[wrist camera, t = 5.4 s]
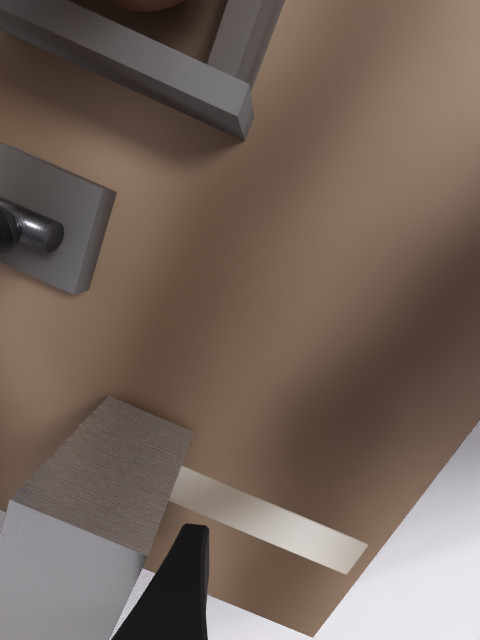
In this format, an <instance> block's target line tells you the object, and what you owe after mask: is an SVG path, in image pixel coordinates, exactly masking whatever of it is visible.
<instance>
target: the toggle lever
mask: <svg viewBox="0 0 480 640" xmlns="http://www.w3.org/2000/svg"><path fill="white" fill-rule="evenodd" d="M63 237H64V227H63V225H62V224H61V223H60V222H57V221H55V220H53V219H51V218H48V217H46V216H44V215H41V214H39V213H37V212H35V211H32V210H30V209H28V208H26V207H23V206H21V205H19V204H16V203H14V202H12V201H10V200H7V199H5V198H3V197H1V196H0V256H2V255H4V254H7V253H9V252H10V251H12V250H13V249H14V248H15V247H16V246H17V244H18V242H19V240H20V241H22V242H24V243H27V244H29V245H31V246H34V247H36V248H38V249H40V250H43V251H45V252H47V253H51V252H54V251H55V250H56V249H57V248H58V247H59V246H60V245H61V243H62V241H63Z"/></svg>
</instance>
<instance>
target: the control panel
mask: <svg viewBox="0 0 480 640" xmlns="http://www.w3.org/2000/svg"><path fill="white" fill-rule="evenodd" d="M0 196H1V197H3V198H5V199H7V200H10V201H12V202H14V203H16V204H19V205H21V206H23V207H26V208H28V209H30V210H32V211H35V212H37V213H39V214H41V215H44V216H46V217H48V218H51V219H53V220H55V221H57V222H60V223H61V224H62V225H63V227H64V237H63V241H62V243H61V245H60V246H59V247H58V248H57V249H56V250H55V251H54V252H51V253H47V252H45V251H43V250H40V249H38V248H36V247H34V246H31V245H29V244H27V243H24V242H22V241H20V240H19V242H18V244H17V246H16V247H15V248H14V249H13V250H12V251H10V252H9V253H7V254H4V255H2V256H0V510H2V511H5V512H6V511H7V508H8V504H9V500H10V499H11V498H12V497H13V496H14V495H15V493H16V492H17V491H18V490H19V489H20V488H21V487H22V486H23V485H24V484H25V483H26V482H27V481H28V480H29V479H30V478H31V477H32V476H33V475H34V474H35V472H36V471H37V470H38V469H39V468H40V467H41V466H42V465H43V464H44V463H45V462H46V461H47V460H48V459H49V458H50V457H51V456H52V455H53V454H54V453H55V452H56V450H57V449H58V448H59V447H60V446H61V445H62V444H63V443H64V442H65V441H66V440H67V439H68V438H69V437H70V436H71V435H72V434H73V433H74V432H75V431H76V430H77V428H78V427H79V426H80V425H81V424H82V423H83V422H84V421H85V420H86V419H87V418H88V417H89V416H90V415H91V414H92V413H93V412H94V411H95V410H96V409H97V408H98V406H99V405H100V404H101V403H102V402H103V401H104V400H105V399H106V398H107V397H108V396H111V397H113V398H115V399H118V400H120V401H122V402H125V403H127V404H130V405H132V406H134V407H137V408H139V409H141V410H144V411H146V412H148V413H151V414H153V415H155V416H158V417H160V418H162V419H165V420H167V421H170V422H172V423H174V424H177V425H179V426H181V427H184V428H186V429H188V430H191V431H193V432H194V434H193V436H192V439H191V442H190V444H189V447H188V450H187V452H186V455H185V458H184V460H183V463H182V466H181V468H180V471H179V474H178V477H177V479H176V482H175V485H174V487H173V490H172V493H171V495H170V498H169V501H168V503H167V506H166V509H165V512H164V514H163V517H162V520H161V522H160V525H159V528H158V530H157V533H156V536H155V538H154V541H153V544H152V546H151V549H150V552H149V555H148V557H147V559H146V561H145V563H144V566H143V568H144V569H146V570H149V571H151V572H154V573H156V572H157V571H158V569H159V568H160V566H161V564H162V562H163V561H164V559H165V557H166V556H167V554H168V552H169V550H170V549H171V547H172V545H173V543H174V541H175V539H176V538H177V536H178V534H179V532H180V530H181V528H182V526H183V525H184V524H186V523H189V524H199V525H206V526H207V527H208V528H209V581H208V589H207V595H210V596H212V597H215V598H217V599H220V600H222V601H225V602H227V603H229V604H232V605H234V606H237V607H239V608H242V609H244V610H247V611H249V612H251V613H254V614H256V615H259V616H261V617H264V618H266V619H269V620H271V621H273V622H276V623H278V624H281V625H283V626H286V627H288V628H290V629H293V630H295V631H298V632H300V633H303V634H305V635H308V636H310V637H312V638H313V637H314V635H315V634H316V633H317V632H318V630H319V629H320V628H321V626H322V625H323V624H324V622H325V621H326V620H327V618H328V617H329V616H330V615H331V613H332V612H333V611H334V609H335V608H336V607H337V605H338V604H339V603H340V602H341V600H342V599H343V598H344V596H345V595H346V594H347V592H348V591H349V590H350V588H351V587H352V586H353V585H354V583H355V582H356V581H357V579H358V578H359V577H360V575H361V574H362V573H363V571H364V570H365V569H366V568H367V566H368V565H369V564H370V562H371V561H372V560H373V558H374V557H375V556H376V555H377V553H378V552H379V551H380V549H381V548H382V547H383V545H384V544H385V543H386V541H387V540H388V539H389V538H390V536H391V535H392V534H393V532H394V531H395V530H396V528H397V527H398V526H399V525H400V523H401V522H402V521H403V519H404V518H405V517H406V515H407V514H408V513H409V511H410V510H411V509H412V508H413V506H414V505H415V504H416V502H417V501H418V500H419V498H420V497H421V496H422V495H423V493H424V492H425V491H426V489H427V488H428V487H429V485H430V484H431V483H432V481H433V480H434V479H435V478H436V476H437V475H438V474H439V472H440V471H441V470H442V468H443V467H444V466H445V464H446V463H447V462H448V461H449V459H450V458H451V457H452V455H453V454H454V453H455V451H456V450H457V449H458V448H459V446H460V445H461V444H462V442H463V441H464V440H465V438H466V437H467V436H468V434H469V433H470V432H471V431H472V429H473V428H474V427H475V425H476V424H477V423H478V421H479V420H480V0H185V1H183V2H181V3H179V4H177V5H175V6H173V7H169V8H166V9H163V10H159V11H151V12H135V11H130V10H125V9H121V8H118V7H116V6H113V5H110V4H108V3H107V2H105V1H103V0H0Z"/></svg>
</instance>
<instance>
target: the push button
mask: <svg viewBox="0 0 480 640" xmlns="http://www.w3.org/2000/svg"><path fill="white" fill-rule="evenodd" d="M103 1H105V2H107V3H108V4H110V5H113V6H116V7H118V8H121V9H125V10H130V11H135V12H151V11H159V10H163V9H166V8H169V7H173V6H175V5H177V4H179V3H181V2H183V1H185V0H103Z"/></svg>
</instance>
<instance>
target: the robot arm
mask: <svg viewBox="0 0 480 640" xmlns="http://www.w3.org/2000/svg"><path fill="white" fill-rule="evenodd" d="M208 581H209V528H208V527H207V526H206V525H199V524H189V523H186V524H184V525H183V526H182V528H181V530H180V532H179V534H178V536H177V538H176V539H175V541H174V543H173V545H172V547H171V549H170V550H169V552H168V554H167V556H166V557H165V559H164V561H163V562H162V564H161V566H160V568H159V569H158V571H157V572H156V574H155V576H154V577H153V579H152V580H151V582H150V583H149V585H148V587H147V588H146V590H145V591H144V593H143V595H142V596H141V598H140V599H139V601H138V602H137V604H136V605H135V607H134V608H133V609H132V611H131V612H130V614H129V615H128V617H127V618H126V619H125V621H124V622H123V624H122V625H121V627H120V628H119V629H118V631H117V632H116V634H115V635H114V637H113V638H112V639H111V640H208V637H207V625H206V602H207V589H208Z"/></svg>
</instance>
